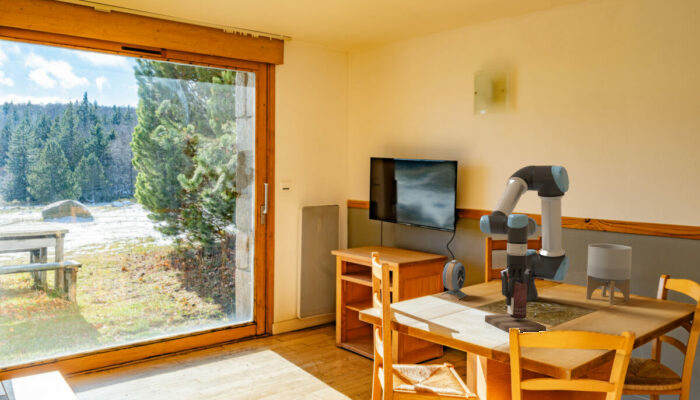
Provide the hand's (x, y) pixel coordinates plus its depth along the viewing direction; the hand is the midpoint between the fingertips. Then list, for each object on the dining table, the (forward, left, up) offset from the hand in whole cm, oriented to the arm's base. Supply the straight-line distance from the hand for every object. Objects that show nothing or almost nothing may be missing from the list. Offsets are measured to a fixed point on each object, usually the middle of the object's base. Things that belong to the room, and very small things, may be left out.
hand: (514, 313), depth 214 cm
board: (+1, 0, -5) cm, 6 cm away
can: (0, +1, -2) cm, 2 cm away
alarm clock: (-53, +3, -6) cm, 53 cm away
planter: (-27, +72, -6) cm, 77 cm away
